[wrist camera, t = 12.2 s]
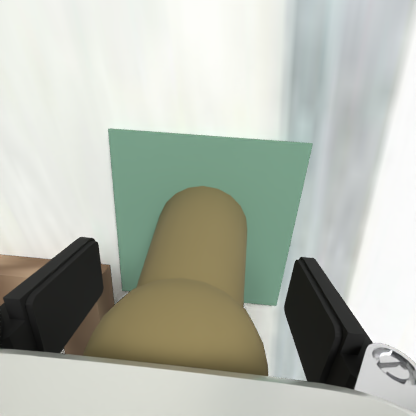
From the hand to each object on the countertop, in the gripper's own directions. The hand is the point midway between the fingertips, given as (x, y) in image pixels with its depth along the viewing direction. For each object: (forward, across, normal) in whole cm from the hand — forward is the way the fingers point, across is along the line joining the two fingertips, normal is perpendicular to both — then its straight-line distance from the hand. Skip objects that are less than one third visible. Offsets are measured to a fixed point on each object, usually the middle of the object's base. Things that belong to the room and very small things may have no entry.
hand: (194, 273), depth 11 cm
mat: (+5, 0, 0) cm, 5 cm away
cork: (+5, 0, 0) cm, 5 cm away
